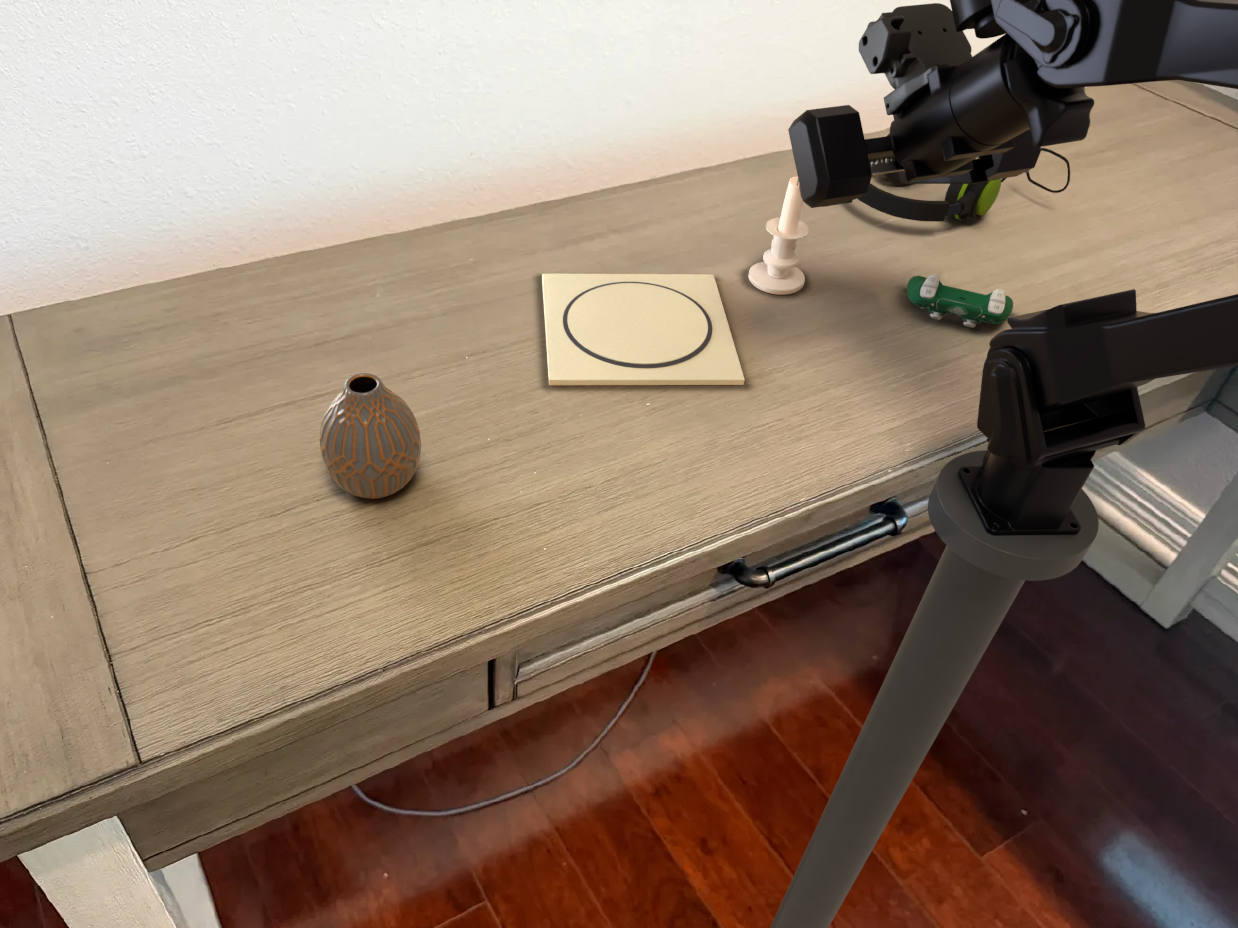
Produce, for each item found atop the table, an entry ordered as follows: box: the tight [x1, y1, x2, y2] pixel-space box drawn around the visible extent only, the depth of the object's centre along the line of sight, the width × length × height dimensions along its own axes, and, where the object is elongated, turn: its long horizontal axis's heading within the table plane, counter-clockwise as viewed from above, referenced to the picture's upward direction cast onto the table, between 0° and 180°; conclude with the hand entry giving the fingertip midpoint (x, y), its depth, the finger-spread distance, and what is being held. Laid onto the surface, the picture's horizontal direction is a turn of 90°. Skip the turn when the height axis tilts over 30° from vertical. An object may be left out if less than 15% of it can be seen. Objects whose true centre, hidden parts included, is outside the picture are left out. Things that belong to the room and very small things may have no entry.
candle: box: [748, 175, 810, 296], centre depth 88 cm, size 5×5×10 cm
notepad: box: [541, 273, 746, 386], centre depth 85 cm, size 16×16×1 cm
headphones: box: [857, 133, 1071, 222], centre depth 100 cm, size 16×10×20 cm
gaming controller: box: [906, 273, 1014, 328], centre depth 87 cm, size 9×4×6 cm
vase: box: [319, 372, 422, 500], centre depth 68 cm, size 7×7×9 cm
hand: (852, 184), depth 78 cm, fingers open, 9 cm apart
